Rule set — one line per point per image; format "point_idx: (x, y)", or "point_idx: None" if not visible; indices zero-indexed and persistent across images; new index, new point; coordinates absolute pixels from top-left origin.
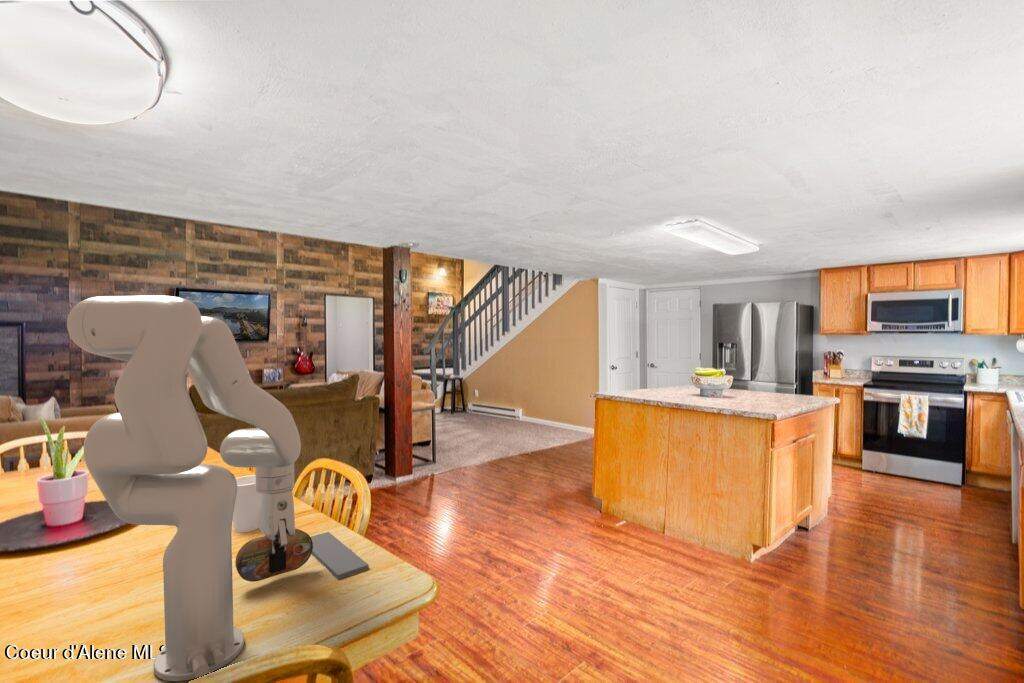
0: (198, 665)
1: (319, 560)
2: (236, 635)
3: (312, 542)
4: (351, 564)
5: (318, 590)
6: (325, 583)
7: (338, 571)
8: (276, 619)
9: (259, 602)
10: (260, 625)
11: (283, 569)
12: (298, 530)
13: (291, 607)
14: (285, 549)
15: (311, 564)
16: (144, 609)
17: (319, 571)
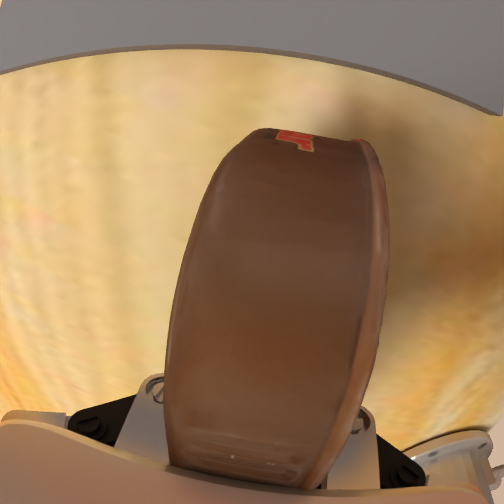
0: (494, 489)
1: (238, 49)
2: (463, 446)
3: (371, 147)
4: (457, 3)
5: (491, 219)
6: (474, 166)
7: (477, 85)
8: (483, 373)
9: (369, 383)
10: (464, 401)
11: None
12: (308, 394)
13: (483, 331)
14: (371, 422)
15: (230, 94)
16: None
17: (350, 107)
